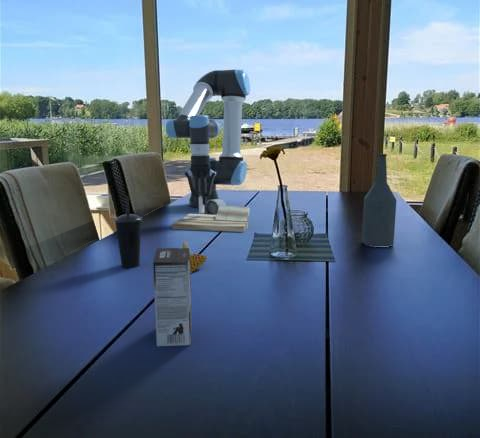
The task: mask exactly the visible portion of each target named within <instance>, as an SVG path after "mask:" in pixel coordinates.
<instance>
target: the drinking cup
mask: <svg viewBox="0 0 480 438" xmlns="http://www.w3.org/2000/svg"><path fill="white" fill-rule="evenodd" d="M129 201H130V200H129V196H128V195H126V196H125V206H126V207H125V208H126V209H125V210H126V213H125V214H122V215H119V216H117V217H116V218H114V219H113V221H114V223H115V230H116V235H117V236H116V237H117V242H118V250H119V255H120V262H121V267H122V268H125V269H133V268H137V267H139V266H140V259H141V255H140V254H141V238H142V237H141V236H142V235H141V233H142V221H143V217H142V216H139V215H137V214H133V213H130V206H129V205H130V203H129Z"/></svg>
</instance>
